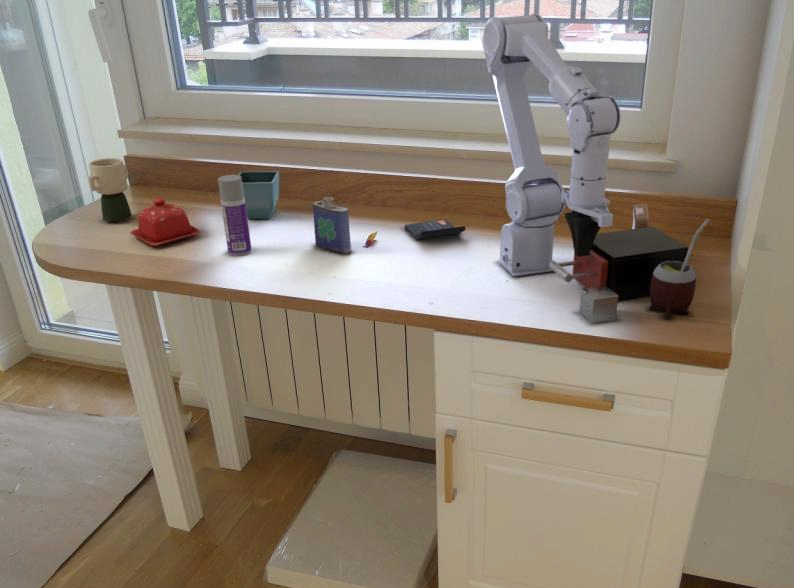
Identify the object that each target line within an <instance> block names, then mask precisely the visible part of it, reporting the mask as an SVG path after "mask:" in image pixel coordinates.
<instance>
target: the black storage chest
mask: <svg viewBox="0 0 794 588" xmlns="http://www.w3.org/2000/svg"><path fill="white" fill-rule="evenodd" d="M592 246H593V247H594V248H596V249H597V250H599V251H600V252H601V253H603V254H604V255H606V256H607V257H608V258H610V259H611V260H612V262H611V271H610V281H609V289H611V290H612V291H613V292H615V293H616V294H617V295H618V302H622V301H623V302H624V301H629V300H636V299H641V298H642V299H643V298H647V297H649V298H650V283H651V278H652V275H653V273H654V270H655V269H656V267H657V266H658V265H659V264H661V263H663V262H667V261H678V262H683V263H684V261H685V258H686V256H687V253H688V251H689V246H687V245H685V244H684V243H683V242H680V241H679V240H677V239H676V238H674V237H672V236H670V235H668V234H667V233H665V232H663V231H662V230H660V229H658V228H657V227H655V226H649V227H646V228H638V229H632V228H631V229H624V230H623V229H622V230H616V231H609V232H602V233H597V235H596V237H595V240H594V242H593V245H592Z"/></svg>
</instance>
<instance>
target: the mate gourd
mask: <svg viewBox="0 0 794 588" xmlns="http://www.w3.org/2000/svg"><path fill="white" fill-rule="evenodd" d="M710 221H711V219H710V218H707V219H705V221H704V222H703V223H702V224H701V225H700V226H699V227H698V229H697V230H696V232H695V234H693V236H692V238H691V243H690V246H689V247H688V253H687V256H686V258H685V261H684V263H683V262H678V261H667V262H663V263H661V264H659V265H658V266H657V267H656V269H655V270H654V273H653V275H652V278H651V283H650V296H649V299H650V306H649V311H652V312H660V313H664V320H670V319H671V315H672V314H673V315H674V314H675V315H683V316H688V315H689V313H690V310H689V308H690V306H691V304H692V302H693V300H694V296H695V290H696V286H697V285H696V284H697V275H696V272H695V270H694V268H693V267H692V266H691V265H690V264H688V263H689V260H690V258H691V255H692V252H693V249H694V247H695V244H696V243H697V242H698V239H699V237H700V236H699V235H700V234H701V232H702V231H703V230H704V228H705V227H706V226H707V225H708V224H709V222H710Z"/></svg>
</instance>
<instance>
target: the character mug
mask: <svg viewBox="0 0 794 588" xmlns="http://www.w3.org/2000/svg"><path fill="white" fill-rule="evenodd" d="M88 168H89V173H90V175H89V176H88V179H87V180H88V183H89V188H90V190H91V191H92V192H95V193H97V194H99V195H101V196H100V204H101V214H102V215H101V216H102V220H103V221H111V222H113V223H114V222H115V221H116V222H117V221H119V222H120V221H126V220H128V219H131V218H132V216H133V214H132V211H131V207H130V205H129V202H128V199H127V197H126V194H125V193H124V192H125V191H127V190H128V188H129V184H128V179H129V172H128V167H127V165H126V164H124V161H123V159H122V158H118V157H107V158H106V157H105V158H99V159H95V160H91V161H90V162H89V163H88Z"/></svg>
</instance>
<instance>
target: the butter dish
mask: <svg viewBox="0 0 794 588" xmlns="http://www.w3.org/2000/svg"><path fill="white" fill-rule="evenodd" d="M152 204H153V205H151V206H148V207H145V208H144V209H143V210H141V211H140V212H139V213H138V219H137V220H138V222H137V223H138V225H137V226H138V227H137V228H136V229H132V230H131V231H129V233H130V234H131V235H132V236H134V237H135V238H137V239H139V240H140V241H142V242H144V243H146V244H147V245H150V246H154V247H155V246H162V245H166V244H169V243H170V244H171V243H173V242H177V241H180V240H184V239H188V238H190V237H193V236H195V235H198V234H200V233H201V231H200V230H199V229H198V228H197V227H195V226H193V225H191V223H190V220H189V218H188V215H187V213H186V211H184V209H183V208H181V207H180V206H178V205H176V204H174V203H168V202H166V199H165V198H163V197H156V198H154V199H153V200H152Z"/></svg>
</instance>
